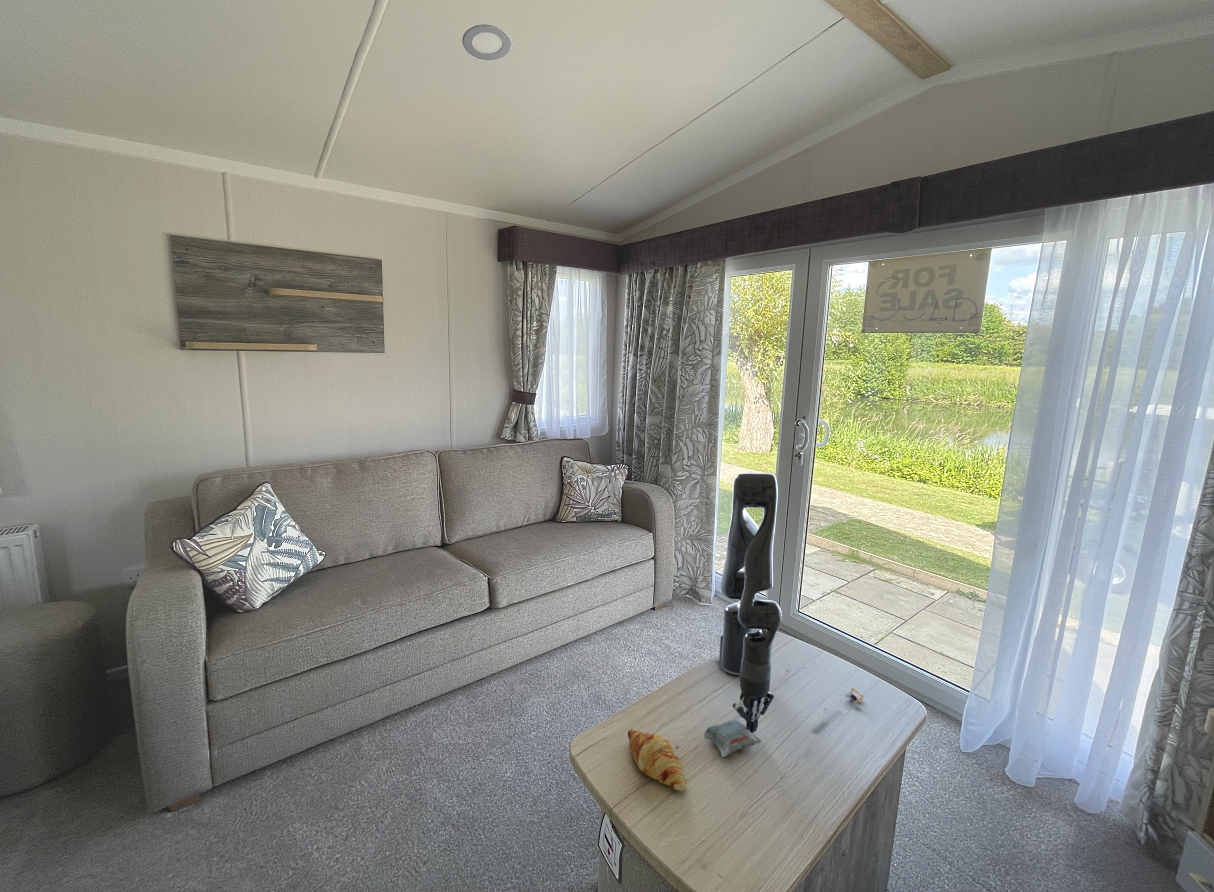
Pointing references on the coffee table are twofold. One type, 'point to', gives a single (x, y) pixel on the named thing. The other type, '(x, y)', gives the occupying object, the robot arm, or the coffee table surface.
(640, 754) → the croissant
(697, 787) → the coffee table surface
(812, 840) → the coffee table surface
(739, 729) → the packaged food
